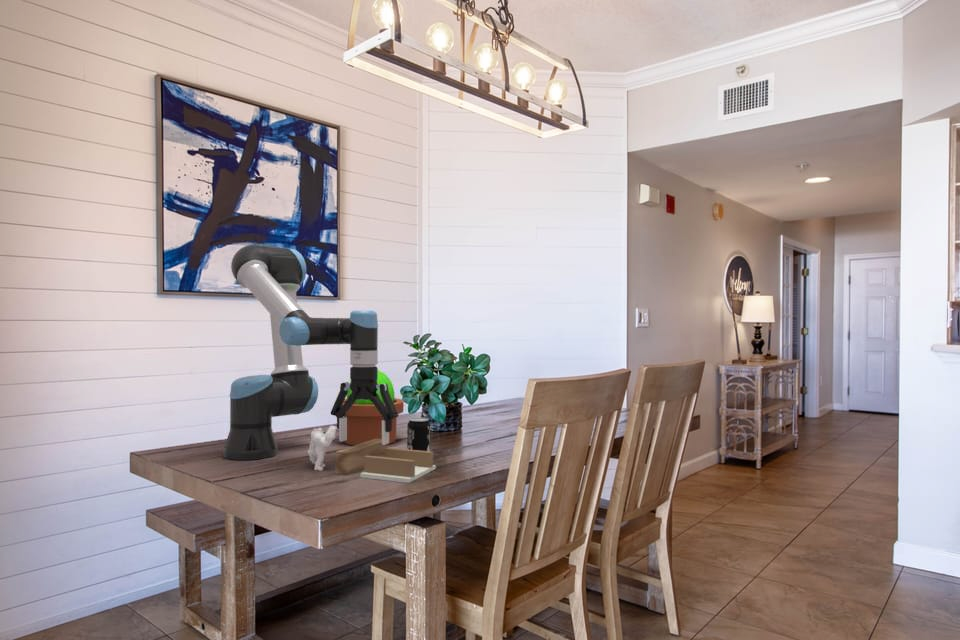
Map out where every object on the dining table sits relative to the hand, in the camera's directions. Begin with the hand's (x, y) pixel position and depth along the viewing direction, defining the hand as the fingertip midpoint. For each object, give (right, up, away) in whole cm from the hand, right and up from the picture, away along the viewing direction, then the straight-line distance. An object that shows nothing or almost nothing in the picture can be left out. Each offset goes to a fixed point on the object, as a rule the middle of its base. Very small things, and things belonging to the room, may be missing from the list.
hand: (363, 442), depth 169 cm
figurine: (-11, -7, -2) cm, 13 cm away
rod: (0, -7, 0) cm, 7 cm away
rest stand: (+11, -7, -7) cm, 15 cm away
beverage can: (+14, -7, +8) cm, 18 cm away
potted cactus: (-5, -7, +35) cm, 36 cm away
